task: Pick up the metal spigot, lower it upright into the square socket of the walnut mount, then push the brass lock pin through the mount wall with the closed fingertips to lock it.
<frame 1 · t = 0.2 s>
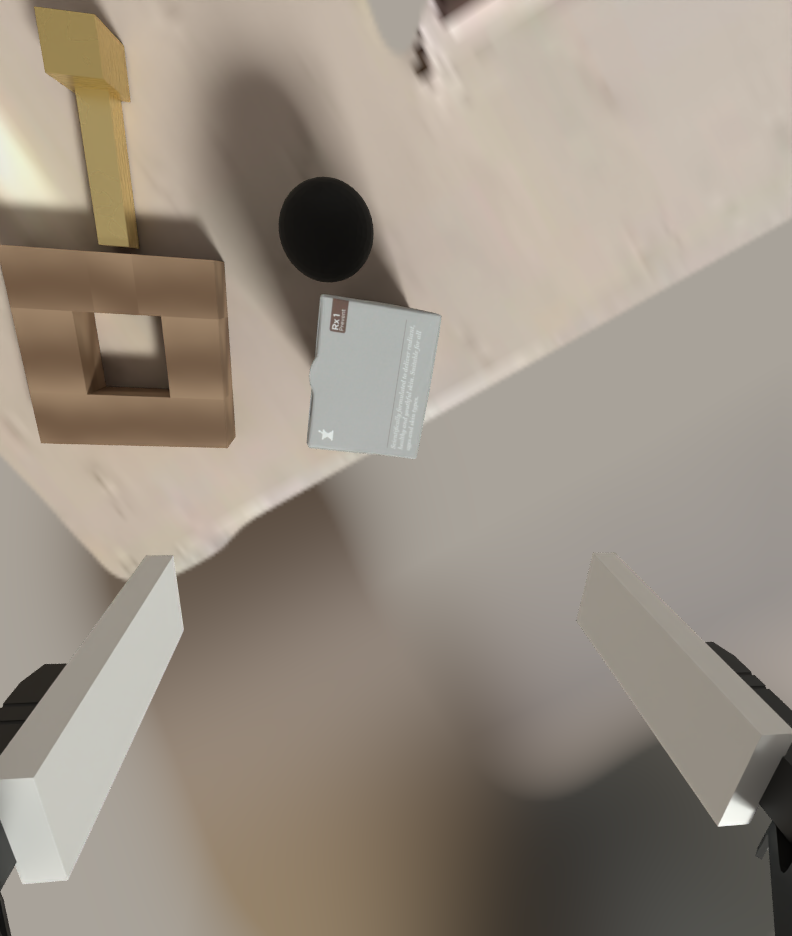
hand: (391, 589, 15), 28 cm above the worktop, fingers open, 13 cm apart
lock pin: (98, 144, 30), point 2 cm above the worktop, slide at 0.0 cm
light bulb: (330, 241, 36), on the worktop
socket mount: (139, 350, 37), on the worktop
skincare box: (364, 349, 39), on the worktop
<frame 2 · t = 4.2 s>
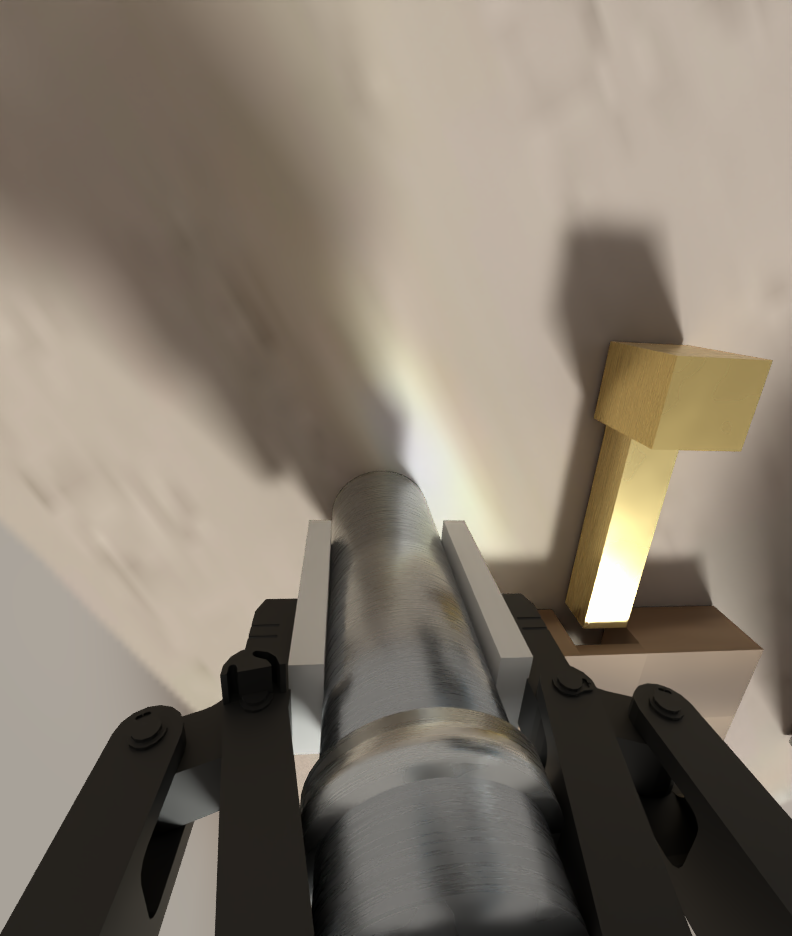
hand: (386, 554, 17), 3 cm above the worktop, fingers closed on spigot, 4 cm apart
lock pin: (640, 506, 18), point 2 cm above the worktop, slide at 0.0 cm
spigot: (380, 515, 19), on the worktop, touching gripper
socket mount: (554, 715, 25), on the worktop
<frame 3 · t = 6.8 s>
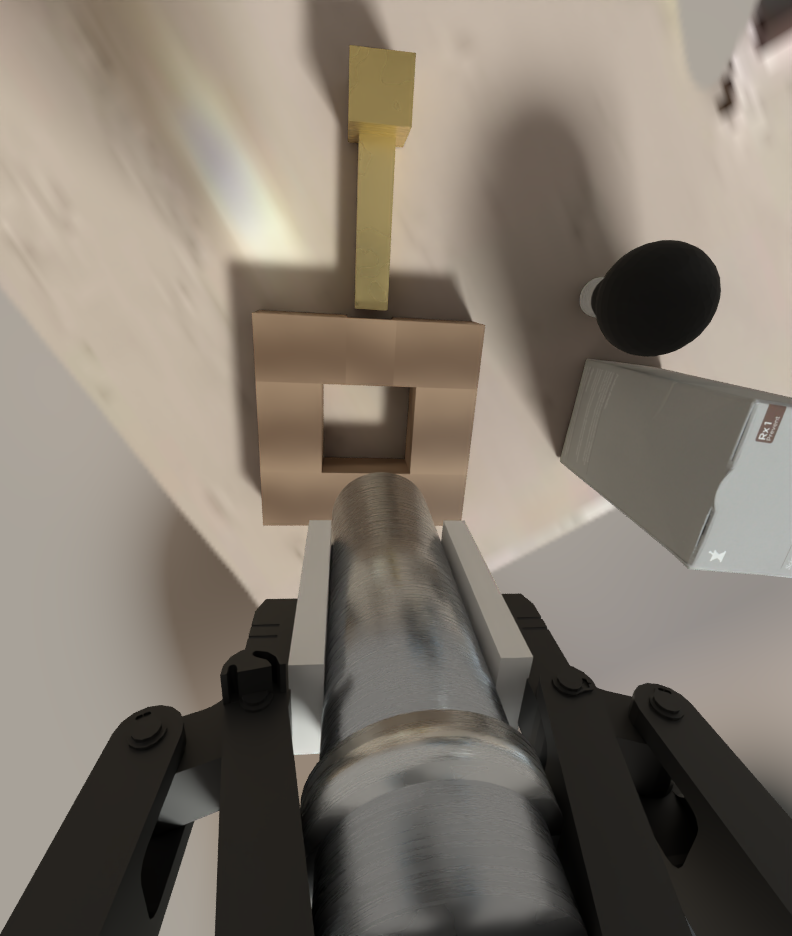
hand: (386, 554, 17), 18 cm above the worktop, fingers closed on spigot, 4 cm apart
lock pin: (375, 198, 26), point 2 cm above the worktop, slide at 0.0 cm
light bulb: (588, 296, 32), on the worktop
spigot: (380, 516, 19), point 15 cm above the worktop, touching gripper
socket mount: (365, 418, 33), on the worktop
skincare box: (603, 411, 35), on the worktop
when the fingers open (5 cm above the worktop, at t = 9.7 s): spigot drops 1 cm, resting in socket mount.
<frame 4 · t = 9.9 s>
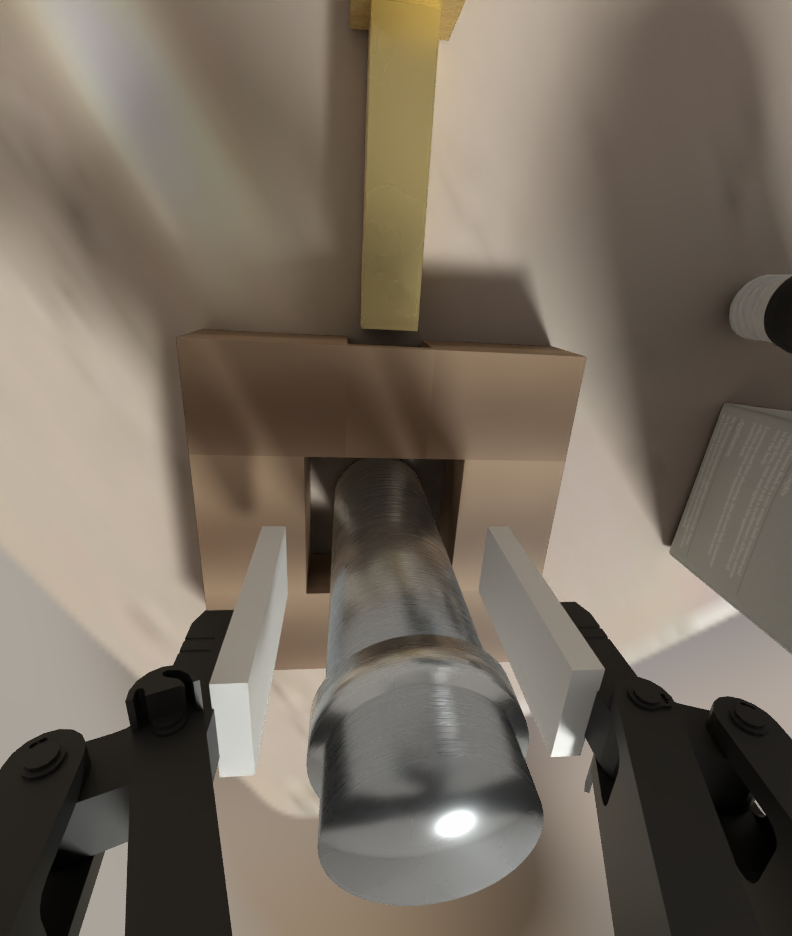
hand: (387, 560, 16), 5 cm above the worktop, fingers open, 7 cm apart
lock pin: (400, 127, 14), point 2 cm above the worktop, slide at 0.0 cm
light bulb: (737, 306, 20), on the worktop
spigot: (378, 496, 21), resting in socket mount
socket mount: (377, 497, 21), on the worktop
skincare box: (738, 479, 23), on the worktop
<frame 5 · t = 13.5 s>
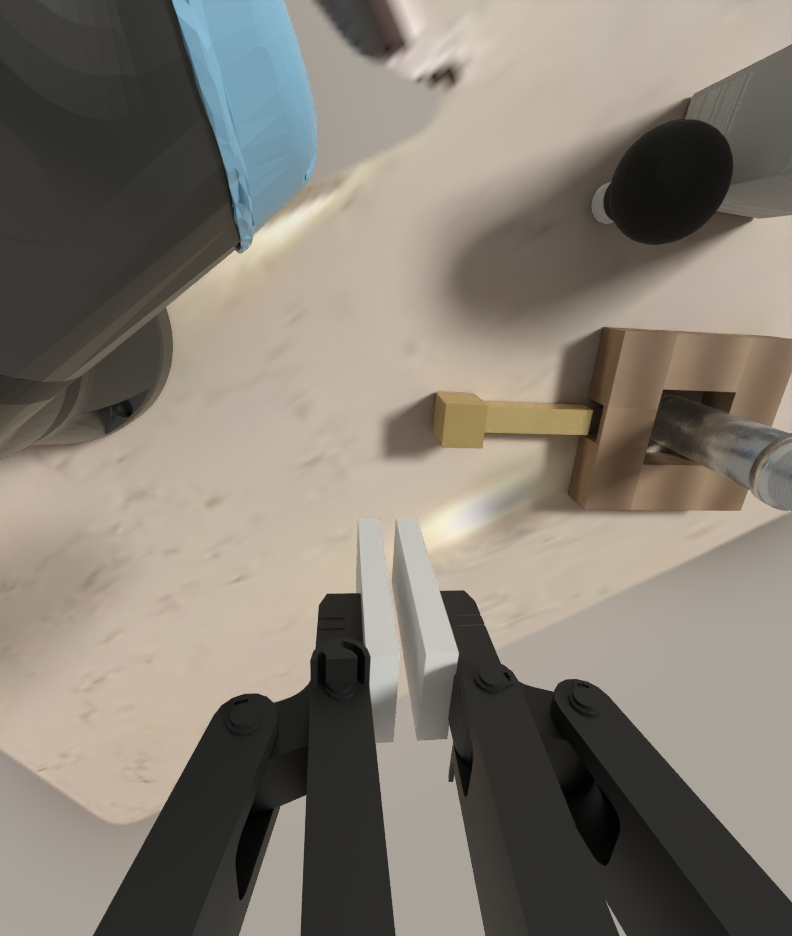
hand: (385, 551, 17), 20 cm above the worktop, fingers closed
lock pin: (516, 421, 35), point 2 cm above the worktop, slide at 0.0 cm
light bulb: (600, 206, 32), on the worktop
spigot: (663, 417, 39), resting in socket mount
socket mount: (663, 418, 39), on the worktop
skincare box: (717, 166, 32), on the worktop
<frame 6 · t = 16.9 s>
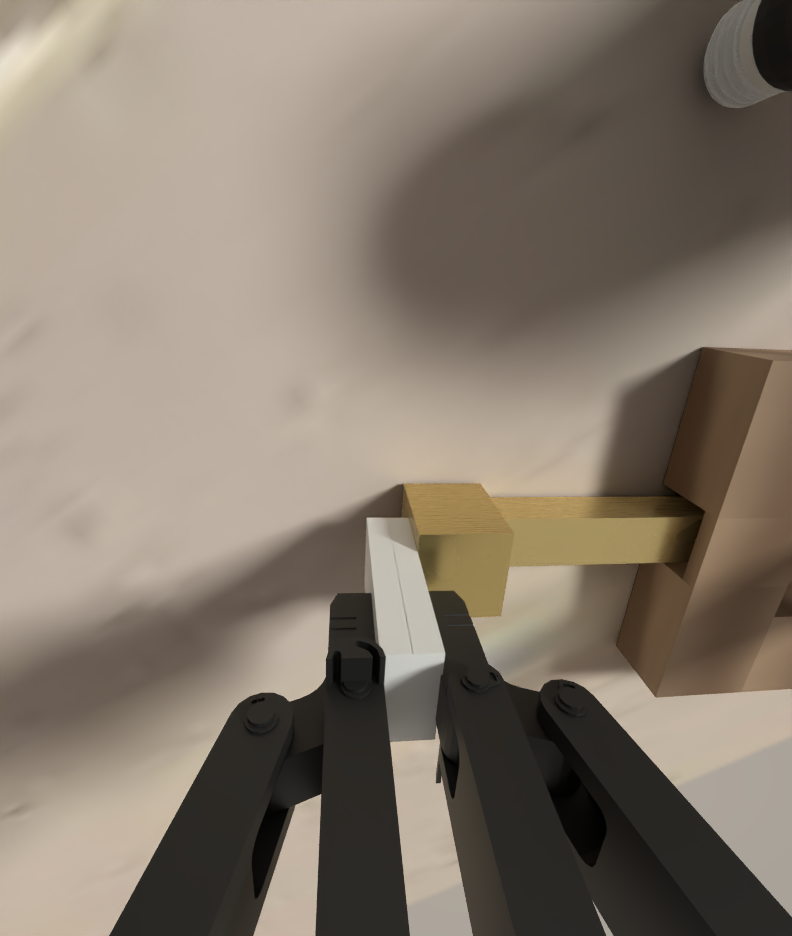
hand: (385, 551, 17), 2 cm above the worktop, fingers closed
lock pin: (568, 543, 17), point 2 cm above the worktop, slide at 1.7 cm, touching gripper
light bulb: (715, 72, 14), on the worktop
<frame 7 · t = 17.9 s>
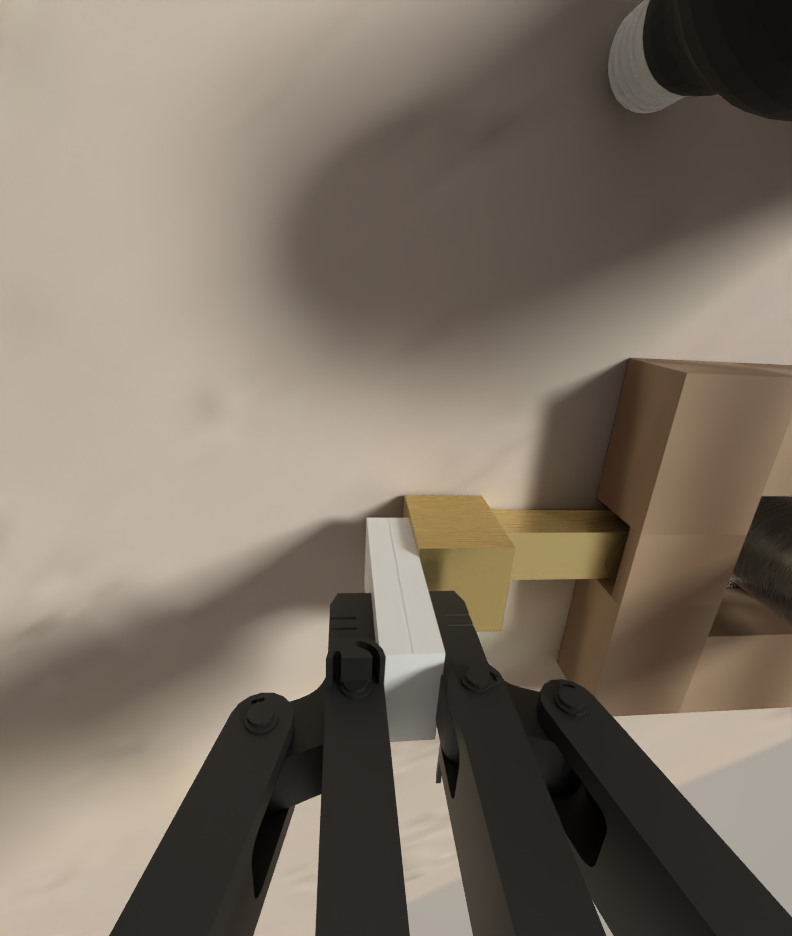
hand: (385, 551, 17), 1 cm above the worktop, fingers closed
lock pin: (569, 557, 17), point 2 cm above the worktop, slide at 4.7 cm, touching gripper
light bulb: (627, 76, 14), on the worktop
spigot: (742, 528, 20), resting in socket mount
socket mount: (742, 530, 20), on the worktop
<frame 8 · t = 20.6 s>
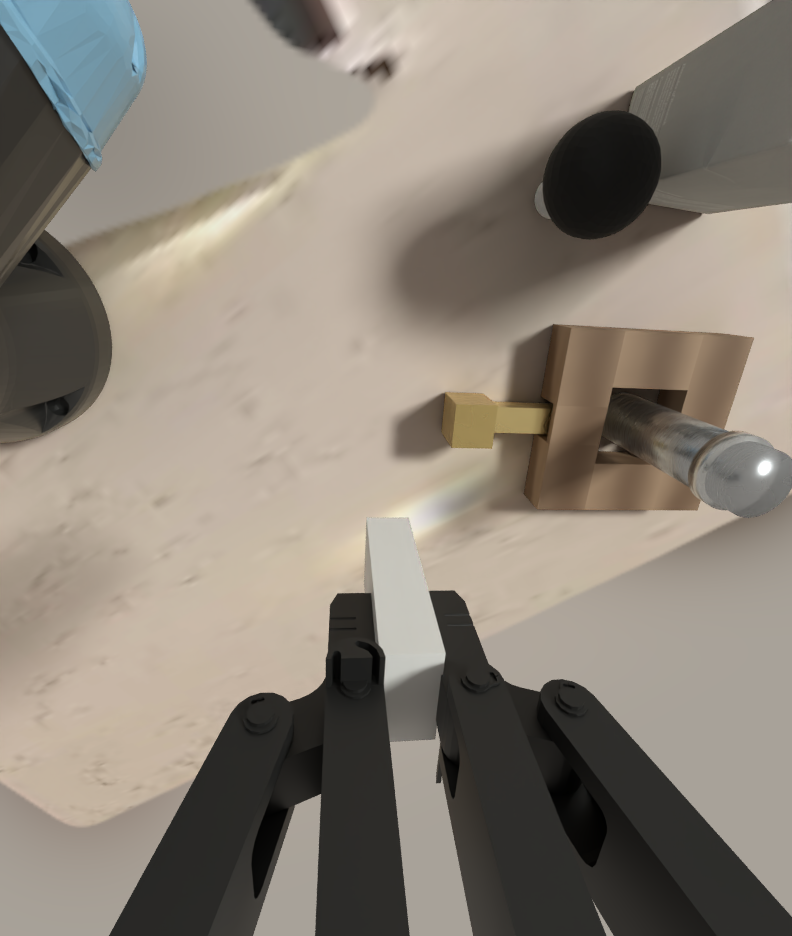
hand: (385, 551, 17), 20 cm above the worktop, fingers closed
lock pin: (525, 421, 35), point 2 cm above the worktop, slide at 4.7 cm
light bulb: (545, 201, 32), on the worktop
spigot: (618, 416, 38), resting in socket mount
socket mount: (618, 417, 38), on the worktop
skincare box: (664, 161, 32), on the worktop
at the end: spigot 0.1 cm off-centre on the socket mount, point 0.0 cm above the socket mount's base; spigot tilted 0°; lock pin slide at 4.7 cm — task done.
